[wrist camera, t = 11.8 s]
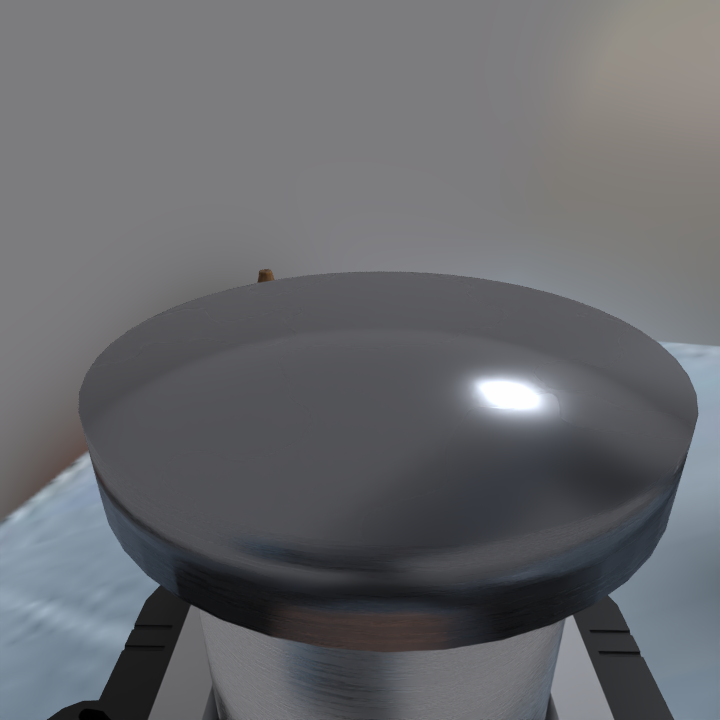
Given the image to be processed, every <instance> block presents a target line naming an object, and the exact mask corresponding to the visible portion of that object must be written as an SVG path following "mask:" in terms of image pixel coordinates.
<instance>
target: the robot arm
mask: <svg viewBox="0 0 720 720" xmlns="http://www.w3.org/2000/svg"><path fill="white" fill-rule="evenodd" d="M47 720H219V716H218V711H217V706H216V700H215V695H214V690H213V684H212V679H211V674H210V669H209V663H208V658H207V653H206V647H205V642H204V637H203V631H202V626H201V621H200V615H199V610H198V608H197V607H195V606H193V605H191V604H189V603H187V602H185V601H183V600H181V599H179V598H178V597H176V596H175V595H174V594H172V593H171V592H170V591H168V590H167V589H165V588H164V587H163V586H161V585H160V586H159V587H158V588H157V589H156V590H155V591H154V593H153V594H152V595H151V596H150V597H149V598H148V599H147V600H146V601H145V604H144V606H143V608H142V610H141V612H140V614H139V616H138V618H137V621H136V623H135V627H134V630H132V631H131V633H130V635H129V637H128V640H127V642H126V644H125V649H124V650H122V652H121V654H120V657H119V659H118V661H117V663H116V665H115V667H114V669H113V671H112V673H111V676H110V678H109V680H108V682H107V684H106V686H105V688H104V690H103V693H102V695H101V697H100V699H99V700H95V701H81V702H79V703H76V704H73V705H71V706H68V707H65V708H63V709H61V710H60V711H59V712H57V713H56V714H54V715H53V716H52V717H50V718H49V719H47ZM545 720H674V719H673V717H672V715H671V713H670V711H669V709H668V706H667V704H666V702H665V700H664V698H663V696H662V694H661V692H660V690H659V688H658V686H657V684H656V682H655V680H654V678H653V676H652V674H651V672H650V670H649V668H648V666H647V664H646V662H645V660H644V658H643V657H641V655H640V650H639V648H638V646H637V644H636V642H635V640H634V638H633V636H632V635H630V630H629V628H628V626H627V624H626V622H625V620H624V618H623V616H622V614H621V612H620V610H619V608H618V605H617V604H616V603H615V602H614V601H613V600H612V599H611V598H610V597H609V596H608V595H607V596H606V597H604V598H603V599H601V600H600V601H598V602H597V603H596V604H594V605H592V606H590V607H588V608H586V609H584V610H582V611H580V612H578V613H576V614H573V615H571V616H569V617H567V618H566V620H565V625H564V630H563V635H562V639H561V644H560V649H559V654H558V658H557V663H556V668H555V673H554V678H553V682H552V687H551V692H550V697H549V701H548V706H547V711H546V716H545Z"/></svg>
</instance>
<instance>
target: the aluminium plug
mask: <svg viewBox="0 0 720 720" xmlns="http://www.w3.org/2000/svg"><path fill="white" fill-rule="evenodd" d="M79 415H80V419H81V423H82V426H83V430H84V434H85V438H86V442H87V446H88V450H89V453H90V457H91V461H92V465H93V469H94V473H95V476H96V480H97V484H98V488H99V492H100V496H101V499H102V503H103V506H104V510H105V513H106V516H107V520H108V523H109V526H110V527H111V529H112V531H113V532H114V534H115V536H116V538H117V539H118V541H119V543H120V544H121V546H122V548H123V549H124V551H125V552H126V553H127V554H128V555H129V556H130V557H131V558H132V559H133V560H134V561H135V563H136V564H137V565H138V566H139V567H140V568H141V569H142V570H143V571H144V572H145V573H146V574H147V575H148V576H149V577H150V578H152V579H153V580H155V581H156V582H157V583H159V584H160V585H161V586H163V587H164V588H165V589H167V590H168V591H170V592H171V593H172V594H174V595H175V596H176V597H178V598H179V599H181V600H183V601H185V602H187V603H189V604H191V605H193V606H195V607H197V608H198V610H199V615H200V621H201V626H202V631H203V637H204V642H205V647H206V653H207V658H208V663H209V669H210V674H211V679H212V684H213V690H214V695H215V700H216V706H217V711H218V716H219V720H545V716H546V711H547V706H548V701H549V697H550V692H551V687H552V682H553V678H554V673H555V668H556V663H557V658H558V654H559V649H560V644H561V639H562V635H563V630H564V625H565V620H566V618H567V617H569V616H571V615H573V614H576V613H578V612H580V611H582V610H584V609H586V608H588V607H590V606H592V605H594V604H596V603H597V602H598V601H600V600H601V599H603V598H604V597H606V596H607V595H608V594H610V593H611V592H613V591H614V590H615V589H617V588H618V587H620V586H621V585H622V584H624V583H625V582H627V581H628V580H629V579H630V578H631V577H632V575H633V574H634V573H635V572H636V571H637V570H638V569H639V568H640V567H641V566H642V565H643V564H644V563H645V562H646V560H647V559H648V558H649V557H650V556H651V555H652V553H653V551H654V549H655V548H656V546H657V544H658V542H659V541H660V539H661V537H662V535H663V534H664V532H665V530H666V527H667V523H668V520H669V516H670V513H671V509H672V506H673V502H674V499H675V496H676V492H677V489H678V485H679V482H680V478H681V475H682V471H683V468H684V464H685V461H686V458H687V454H688V451H689V447H690V444H691V440H692V437H693V433H694V429H695V425H696V422H697V418H698V406H697V395H696V392H695V390H694V387H693V385H692V383H691V380H690V378H689V376H688V374H687V373H686V372H685V370H684V369H683V368H682V366H681V365H680V364H679V362H678V361H677V360H676V359H675V358H674V357H673V356H672V355H671V354H670V353H669V352H668V351H667V350H666V349H665V348H663V347H662V346H661V345H660V344H659V343H658V342H656V341H655V340H653V339H652V338H650V337H649V336H648V335H646V334H645V333H643V332H642V331H640V330H638V329H637V328H635V327H633V326H631V325H630V324H628V323H626V322H624V321H622V320H621V319H618V318H616V317H614V316H612V315H610V314H607V313H605V312H603V311H601V310H599V309H596V308H593V307H591V306H588V305H585V304H583V303H580V302H577V301H574V300H571V299H568V298H565V297H561V296H558V295H555V294H552V293H548V292H544V291H540V290H536V289H532V288H528V287H523V286H518V285H513V284H509V283H503V282H498V281H492V280H485V279H480V278H472V277H464V276H455V275H443V274H432V273H414V272H348V273H331V274H320V275H309V276H300V277H292V278H285V279H278V280H272V281H267V282H261V283H256V284H251V285H247V286H242V287H237V288H233V289H229V290H226V291H222V292H218V293H214V294H211V295H207V296H204V297H201V298H198V299H195V300H192V301H189V302H186V303H184V304H182V305H179V306H176V307H174V308H172V309H169V310H167V311H165V312H162V313H160V314H158V315H156V316H154V317H152V318H150V319H148V320H146V321H144V322H142V323H141V324H139V325H137V326H136V327H134V328H132V329H131V330H129V331H127V332H126V333H125V334H124V335H122V336H121V337H119V338H118V339H117V340H115V341H114V342H113V343H112V344H110V345H109V346H108V347H107V348H106V349H105V350H104V351H103V352H102V354H100V356H99V357H98V358H97V359H96V360H95V362H94V363H93V364H92V366H91V367H90V369H89V371H88V372H87V373H86V376H85V378H84V381H83V384H82V386H81V389H80V392H79Z"/></svg>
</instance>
